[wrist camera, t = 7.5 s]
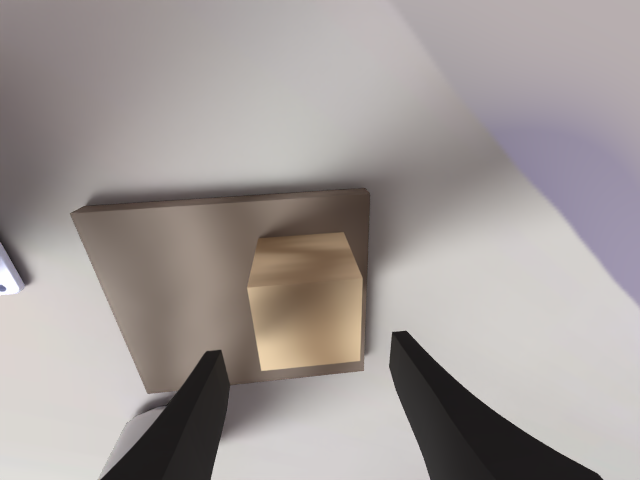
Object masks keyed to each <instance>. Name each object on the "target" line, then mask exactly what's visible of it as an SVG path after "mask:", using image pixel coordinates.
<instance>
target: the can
mask: <svg viewBox="0 0 640 480" xmlns="http://www.w3.org/2000/svg"><path fill="white" fill-rule="evenodd" d="M165 408H166V406H162V407H157V408H154V409H151V410H149V411H147V412H146V413H143V414H140V415H137V416H135V417H134V418H133V419H131V420H130V421H129V422H127V423H126V425H125V427H124V429H123V430H122V432H121V434H120V436H119V438H118V440H117V442H116V444H115V446H114V448H113V450H112V452H111V454H110V456H109V458H108V460H107V462H106V464H105V466H104V468H103V470H102V472H101V474H100V476H99V478H98V480H100V479H101V478H102V477H103V476H104V475H105V474H106V473H107V472H108V471H110V469H111V468H112V467H113V466H114V465H115V464H116V463H117V462H118V461H119V460H120V459H121V458H122V457H123V456H124V455H125V454H126V453H127V452H128V451H129V450H130V449H131V448H132V446H133V445H134V444H135V443H136V442H137V441H138V440H139V439H140V438H141V437H142V435H143V434H144V433H145V432H146V431H147V430H148V428H149V427H150V426H151V425H152V424H153V423H154V421H155V420H156V419H157V418H158V416H159V415H160V414H161V413H162V411H163V410H164V409H165Z"/></svg>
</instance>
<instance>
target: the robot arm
mask: <svg viewBox="0 0 640 480" xmlns="http://www.w3.org/2000/svg"><path fill="white" fill-rule="evenodd" d="M4 286H5V287H4ZM24 287H25V286H24V283H23V281H22V279H21V277H20V276H19V274H18V272H17V270H16V269H15V267H14V265H13V263H12V262H11V260H10V258H9V256H8V254H7V253H6V251H5V249H4V247H3V246H2V244H1V242H0V295H7V294H16V293H19V292H20V291H22V290H23V289H24ZM389 368H390V371H391V375H392V378H393V382H394V385H395V388H396V391H397V394H398V396H399V399H400V401H401V404H402V406H403V409H404V411H405V413H406V416H407V418H408V420H409V423H410V425H411V428H412V430H413V432H414V435H415V437H416V440H417V442H418V444H419V447H420V450H421V452H422V455H423V458H424V461H425V464H426V467H427V470H428V473H429V476H430V479H431V480H603V479H602V478H601V477H600V476H599V474H597V473H595V472H594V471H592V470H590V469H588V468H586V467H584V466H583V465H581V464H579V463H577V462H575V461H573V460H571V459H570V458H568V457H566V456H564V455H562V454H560V453H559V452H557V451H555V450H554V449H552V448H550V447H549V446H547V445H545V444H544V443H542V442H540V441H539V440H537V439H535V438H534V437H532V436H531V435H529V434H527V433H526V432H524V431H523V430H521V429H520V428H518V427H517V426H515V425H514V424H512V423H511V422H509V421H508V420H506V419H505V418H503V417H502V416H501V415H499V414H498V413H496V412H495V411H494V410H492V409H491V408H490V407H488V406H487V405H486V404H484V403H483V402H482V401H480V400H479V399H478V398H477V397H475V396H474V395H473V394H472V393H470V392H469V391H468V390H467V389H466V388H465V387H463V386H462V385H461V384H460V383H459V382H458V381H457V380H455V379H454V378H453V377H452V376H451V375H450V374H449V373H448V372H447V371H446V370H445V369H444V368H442V367H441V366H440V365H439V364H438V363H437V362H436V361H435V360H434V359H433V358H432V357H431V356H430V355H429V354H428V353H427V352H426V351H425V350H424V349H423V348H422V347H421V346H420V345H419V344H418V342H417V341H416V340H415V339H414V338H413V337H412V336H411V335H410V334H409V333H408V332H407V331H399V332H392V340H391V351H390V363H389ZM229 388H230V382H229V378H228V374H227V370H226V366H225V362H224V358H223V354H222V350H213V351H206V352H205V353H204V354H203V356H202V357H201V359H200V360H199V362H198V363H197V365H196V366H195V368H194V369H193V371H192V372H191V374H190V375H189V377H188V378H187V379H186V381H185V382H184V384H183V385H182V386H181V388H180V389H179V390H178V392H177V393H176V394H175V396H174V397H173V399H172V400H171V401H170V402H169V404H168V405H167V406H166V408H165V409H164V410H163V411H162V413H161V414H160V415H159V416H158V418H157V419H156V420H155V421H154V423H153V424H152V425H151V426H150V427H149V428H148V430H147V431H146V432H145V433H144V434H143V435H142V437H141V438H140V439H139V440H138V441H137V442H136V443H135V444H134V445H133V446H132V448H131V449H130V450H129V451H128V452H127V453H126V454H125V455H124V456H123V457H122V458H121V459H120V460H119V461H118V462H117V463H116V464H115V465H114V466H113V467H112V468H111V469H110V471H108V472H107V473H106V474H105V475H104V476H103V477H102V478H101V479H100V480H211V475H212V470H213V466H214V462H215V458H216V454H217V450H218V445H219V441H220V437H221V433H222V429H223V424H224V420H225V416H226V411H227V405H228V397H229Z"/></svg>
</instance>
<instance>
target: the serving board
mask: <svg viewBox="0 0 640 480" xmlns="http://www.w3.org/2000/svg"><path fill="white" fill-rule="evenodd" d="M369 208H370V193H369V192H368V191H367V190H366V189H365V188H358V189H343V190H327V191H312V192H296V193H281V194H265V195H250V196H234V197H219V198H203V199H188V200H172V201H157V202H141V203H125V204H110V205H94V206H84V207H82V208H80V209H78V210H76V211H74V212H72V213H70V215H71V217H72V220H73V222H74V224H75V227H76V229H77V231H78V234H79V236H80V238H81V241H82V243H83V245H84V247H85V250H86V252H87V254H88V257H89V259H90V261H91V264H92V266H93V268H94V271H95V273H96V275H97V278H98V280H99V282H100V284H101V287H102V289H103V291H104V294H105V296H106V298H107V301H108V303H109V305H110V308H111V310H112V312H113V315H114V317H115V319H116V322H117V324H118V326H119V328H120V331H121V333H122V335H123V338H124V340H125V342H126V345H127V347H128V349H129V352H130V354H131V356H132V359H133V361H134V363H135V365H136V368H137V370H138V372H139V375H140V377H141V379H142V382H143V384H144V386H145V389H146V391H147V393H148V394H151V393H161V392H170V391H178V390H179V389H180V388H181V386H182V385H183V384H184V382H185V381H186V379H187V378H188V377H189V375H190V374H191V372H192V371H193V369H194V368H195V366H196V365H197V363H198V362H199V360H200V359H201V357H202V356H203V354H204V353H205V352H206V351H213V350H222V354H223V358H224V362H225V366H226V370H227V374H228V378H229V382H230V385H235V384H245V383H254V382H264V381H273V380H282V379H292V378H301V377H310V376H320V375H329V374H338V373H348V372H357V371H364V348H365V320H366V292H367V264H368V236H369ZM338 232H344V234H345V236H346V239H347V241H348V244H349V246H350V249H351V251H352V253H353V256H354V258H355V261H356V263H357V266H358V268H359V270H360V273H361V275H362V278H363V284H362V317H361V349H360V361H354V362H345V363H335V364H325V365H315V366H306V367H296V368H286V369H276V370H267V371H261V366H260V360H259V354H258V348H257V343H256V337H255V331H254V325H253V319H252V314H251V308H250V302H249V296H248V290H247V286H248V281H249V277H250V272H251V268H252V264H253V259H254V255H255V250H256V246H257V242H258V238H269V237H283V236H297V235H311V234H324V233H338Z"/></svg>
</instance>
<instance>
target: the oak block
mask: <svg viewBox="0 0 640 480" xmlns="http://www.w3.org/2000/svg"><path fill="white" fill-rule="evenodd" d="M362 284H363V278H362V275H361V273H360V270H359V268H358V266H357V263H356V261H355V258H354V256H353V253H352V251H351V249H350V246H349V244H348V241H347V239H346V236H345V234H344V232H338V233H324V234H311V235H297V236H283V237H269V238H258V242H257V246H256V250H255V255H254V259H253V264H252V268H251V272H250V277H249V281H248V286H247V290H248V296H249V302H250V308H251V314H252V319H253V325H254V331H255V337H256V343H257V348H258V354H259V360H260V366H261V371H267V370H276V369H286V368H296V367H306V366H315V365H325V364H335V363H345V362H354V361H360V349H361V317H362Z"/></svg>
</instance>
